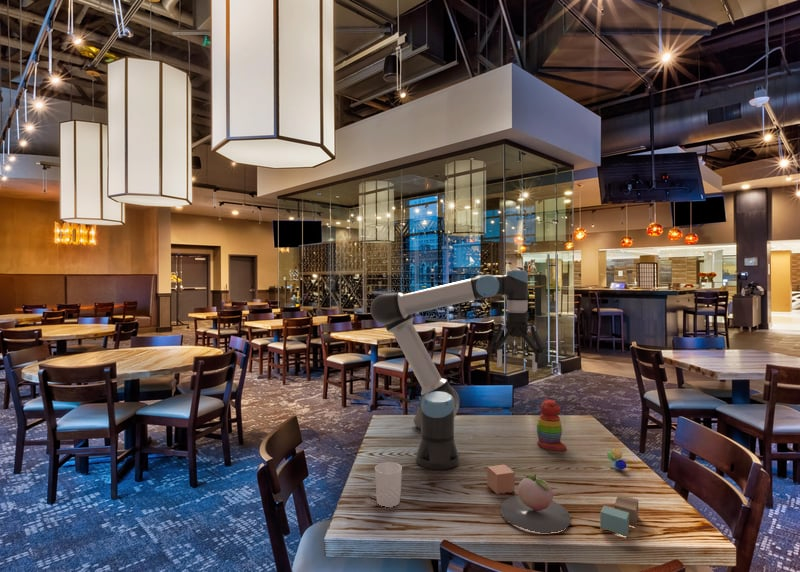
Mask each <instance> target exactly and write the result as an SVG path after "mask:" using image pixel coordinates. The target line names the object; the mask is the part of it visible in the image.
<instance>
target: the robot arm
mask: <svg viewBox="0 0 800 572" xmlns="http://www.w3.org/2000/svg"><path fill="white" fill-rule="evenodd" d="M528 275H529V274H528V271H527V270H524V269H509V270H507V271H506V274H504V275H503V274H502V275H493V274H488V273H487V274H482V275H475V276H474V277H473V278H468V279H463V280H459V281H455V282H451V283H447V284H442V285H438V286H433V287H430V288H426V289H421V290H417V291H412V292H408V293H402V292H389V293H382V294H379V295H377V296H376V297H375V298H374V299H373V300H372V302H371V303H370V315H371V317H372V318H373V320H374V321H375V322H377V323H379V324H381V325H383V326H384V327H385V329H386V331H387V332H388V333H391V334H393V336H394V338H395V339H396V341H397V343H398V345H399V347H400V349H401V351H402V353H403V355H404V356H405V359H406V361H407V363H408V364H409V366H410V368H411V370H412V371H413V374H414V376H415V377H416V379H417V381H418V383H419V386H420V387H421V390H420V391H421V392H420V395H421V397H423V398H422V402H421V401H420V404H421V429H420V431H421V433H420V434H421V437H420V442H419V445H418V447H417V451H416V456H415V457H416V459H415V461H416V463H417V465H419V466H421V467H422V468H426V469H428V470H438V471H439V470H449V469H453V468H455V467H457V466H458V465H459V464H460V456H459V452H458V449H457V445H456V442H455V418H456V416H457V413H458V412H459V410H460V403H461V402H460V396H459V394H458V392H457V391H456V389H454V388H453V387H452V386H451V385H450V383H449V381H448V379H447V378H443V377H442V376H441V374H440V372H439V371H438V369H437V367H436V364H435V363H434V361H433V359H432V357H431V355H430V354H429V351H428V350H427V348H426V347H425V345H424V342H423V341H422V339H421V336H420V335H419V332H417V330H416V328H415V325H414V323H413V322H414V316H413V314H418V313H422V312H426V311H430V310H436V309H439V308H443V307H449V306H453V305H457V304H461V303H467V302H470V301H471V302H472V301H475V300H479V299H484V298H491V297H494V296H506V311H507V312H506V324H504V323H503V322H502V323H499V324H498V325H497V331H496V332H495V335H494V337H493V339H492V341H491V343H490V345H489V346H490V348H493V349H494V356H495V357H494V358H496V367H497V368H500V367H502V366H503V349H502V347H503V345H504V344H505V343H506V342H507V341H508V340H509V338H510V337H515V338H516V337H517V338H522V339H523V340H524V341H525V342H526V343H527V345H528V346H529V348H530V349H531V350H532V351H533V353H532V356H531V358H532V363H531V364H532V365H531V366H532V373H536V372H538V363H540V360H541V353H544V352H545V351H546V349H545V347H544V345H543V341H542V340H541V338H540V336H539V333H538V330H537V326H536V325H530V326H529V325H528V321H529V320H528V313H527V312H528V306H529V305H528V302H529V301H528V298H529V297H528V296H529V279H528V278H529V277H528ZM504 330H506V331H507V332H506V333H505V334H504V336H503V337H502V338H501V336H502V334H503V333H504ZM528 331H529V332H530V333H531V336H532V338H533V339H532V338H531V337H530V335H529V333H528ZM500 338H501V339H500ZM533 340H534V341H533Z"/></svg>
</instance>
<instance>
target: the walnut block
mask: <svg viewBox="0 0 800 572" xmlns="http://www.w3.org/2000/svg"><path fill="white" fill-rule="evenodd" d="M613 506H614V507H613V508H614V509H618V510H621V511H625V512H628V513H629V525H631V526H634V527H636V528H637V525H636V523H637V524H638V521H637V519H639V498H634V497H630V496H626V495H622V494H617V496H616V499H615V503H614V505H613Z"/></svg>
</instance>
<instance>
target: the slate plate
mask: <svg viewBox="0 0 800 572" xmlns="http://www.w3.org/2000/svg"><path fill="white" fill-rule="evenodd" d="M500 506H501V507H500V513H502V514H501V517H502V516H503V517H504V518H505V519H506V520H507V521H509V522H510V523H512V524H514V525H517V526H519V527H522V528H524V529H528V530H530V531H535V532H540V533H551V532H558V531H561V530H564V529H565V528H567V527H568V526H569V527H570V525H571V515H570V513H569V512H568V510H567V509H566V508H565V507H564V506H562V505H561V504H559V503H558V502H556V501H554V500H552V502H551V503H550V505H549V506H548V507H547V508H545V509H543V510H539V511H534V509H532V508H530V507H528V506H526V505H525V504H524V503H523V502H522V501H521V499H520V496H519V495H515V496H510V497H509V498H507V499H505V500H503V502H502V503H501V505H500ZM503 517H502V518H503ZM504 518H503V519H504ZM505 519H504V520H505ZM569 524H570V525H569ZM569 527H568V528H569ZM568 528H567V529H568Z"/></svg>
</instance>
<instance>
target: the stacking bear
mask: <svg viewBox="0 0 800 572" xmlns="http://www.w3.org/2000/svg"><path fill="white" fill-rule="evenodd" d="M540 409H541V410H540V411H541V414H540V415H539V417H538V419H537V423H536V433H537V434H536V435H537V438H538V439H537V442H536V445H537V446H538V447H539V448H541V447H542V449H544V448H545V450H549V451H556V450H557V451H558V452H559V451H563V452H564V451H566V450H567V445H565V444H564V443H563V442H562V441H561V439H562V434H563V427H562V423H561V422H562V421H561V419H560V416H559V414H560V413H561V406H559V405H558V404H557V402H556V401H555V400H552V399H548V398H545V399H544V401H543V402H542V403H541V406H540Z"/></svg>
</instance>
